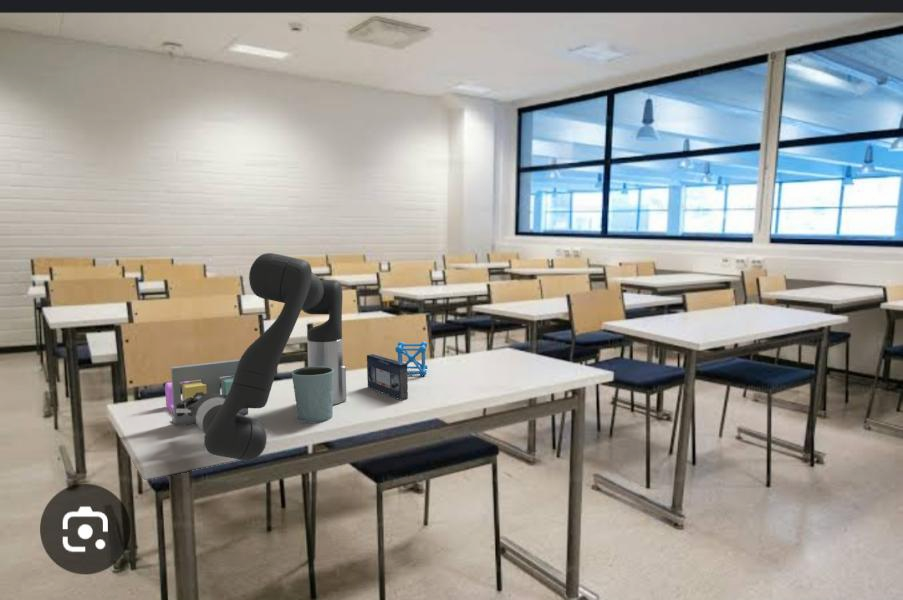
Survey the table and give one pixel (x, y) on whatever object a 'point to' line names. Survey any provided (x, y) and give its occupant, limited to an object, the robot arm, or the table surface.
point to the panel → (207, 375)
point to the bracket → (170, 395)
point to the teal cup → (313, 393)
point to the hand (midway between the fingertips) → (198, 396)
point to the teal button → (226, 385)
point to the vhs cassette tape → (387, 376)
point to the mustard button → (192, 389)
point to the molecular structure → (413, 356)
